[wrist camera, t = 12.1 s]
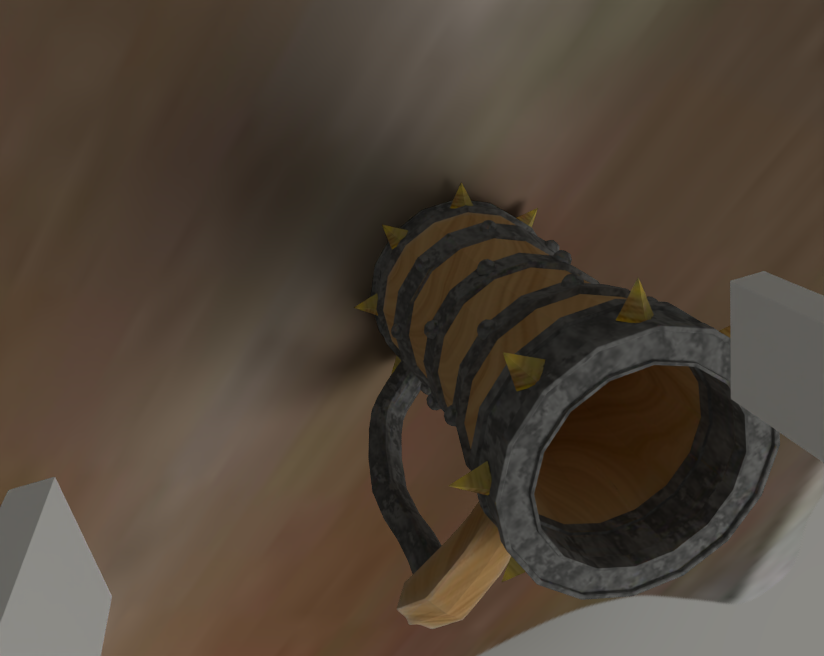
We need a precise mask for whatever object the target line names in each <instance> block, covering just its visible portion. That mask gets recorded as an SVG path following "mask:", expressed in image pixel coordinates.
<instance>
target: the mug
mask: <svg viewBox="0 0 824 656" xmlns="http://www.w3.org/2000/svg"><path fill="white" fill-rule="evenodd" d="M537 209H538V208H537ZM537 209H534V210H532V211H530V212H528V213H526V214H524V215H521V216H519V217H517V218H515V217H513V216H512V215H510V214H508V213H507V212H505V211H503V210H502V209H500V208H498V207H496V206H494V205H493V204H491V203H486V202H477V201H471V200H470V198H469V196H468V194H467V192H466V190H465V188H464V186H463V184H462V182H461V184H460V186H459V188H458V191H457V193H456V195H455V197H454V200H452V201H449V202H446V203H443V204H439V205H436V206H433V207H430V208H427V209H423V210H421V211H420V212H419V213H417V214H416V215H415V216H414V217H412V218H411V219H410V220H409V221H408V222H406V223H405V224H404V225H403V226H401V227H400V228H395V227H391V226H386V225H382V226H383V229H384V231H385V234H386V236H387V239H388V243H387V245H386V246H385V248H384V250H383V252H382V253H381V255H380V257H379V259H378V260H377V262H376V264H375V268H374V276H373V283H372V290H371V297H370V298H368V299H367V300H365V301H364V302H362V303H360V304H359V305H357V306H356V307H354V308H356V309H359V310H362V311H365V312H368V313H371V314H374V315H375V318H376V321H377V325H378V328H379V331H380V333H381V334H382V335H383V337H384V338H385V341H386V343H387V345H388V346H389V347H390V348H391V349H392V350H393V352H394V353H395V354H396V355H397V356H396V360H395V363H394V367H393V370H392V374H391V376H390V378H389V379H388V381H387V382H386V384H385V386H384V387H383V389H382V391H381V392H380V394H379V396H378V397H377V400H376V402H375V404H374V407H373V409H372V413H371V420H370V427H369V466H370V475H371V483H372V491H373V494H374V496H375V499H376V501H377V503H378V506H379V508H380V511H381V513H382V515H383V518H384V520H385V521H386V523H387V524H388V526H389V527H390V529H391V530H392V532H393V533H394V535H395V536H396V538H397V540H398V541H399V543H400V545H401V548H402V550H403V552H404V554H405V556H406V558H407V560H408V562H409V565H410V568H411V571H412V573H413V575H412V576H411V577H410V578H409V579H408V580H407V581H406V582H405V583H404V586H403V589H402V593H401V596H400V599H399V603H398V606H397V610H398V611H399V612H400V613H401V614H403V615H404V616H405V617H406V618H407V620H408V623H409V625H413V624H419V625H422V626H425V627H428V628H431V629H434V628H437V627H441V626H444V625H447V624H450V623H453V622H457V621H460V620H462V619H464V618H465V617H466V616H467V615H468V614H469V612H470V611H471V610H472V609H473V607H474V606H475V605H476V604H477V603H478V601H479V600H480V599H481V598H482V596H483V595H484V594H485V593H486V592H487V590H488V589H489V588H490V587H491V586H492V584H493V583H494V582H495V581H496V579H497V578H498V577H499V576H500V574H501V573H502V571H503V570H504V568H505V567H506V565H507V564H508V566H507V568H506V571H505V574H504V576H503V579H502V582H503V581H506V580H508V579H510V578H513V577H515V576H517V575H520V574H522V573H524V572H526V573H527V574H528V575H529V576H530V577H531V578H532V579H533V580H534V581H535V582H536V583H537V585H540V586H543V587H546V588H549V589H552V590H555V591H558V592H561V593H564V594H567V595H570V596H573V597H576V598H579V599H597V598H612V597H626V596H634V595H637V594H639V593H641V592H644V591H646V590H649V589H651V588H654V587H656V586H658V585H661V584H663V583H666V582H668V581H671V580H673V579H676V578H678V577H680V576H683V575H684V574H686V573H687V572H688V571H689V570H691V569H692V568H693V567H695V566H696V565H697V564H698V563H700V562H701V561H702V560H704V559H705V558H706V557H707V556H709V555H710V554H711V553H713V552H714V551H715V550H717V549H718V548H719V547H720V546H722V545H723V544H724V543H726V542H727V541H728V540H729V538H730V537H731V536H732V534H733V533H734V532H735V530H736V529H737V528H738V526H739V525H740V524H741V522H742V521H743V520H744V518H745V517H746V516H747V514H748V513H749V512H750V510H751V509H752V508H753V506H754V505H755V504H756V502H757V501H758V500H759V498H760V497H761V495H762V493H763V490H764V487H765V484H766V481H767V479H768V476H769V473H770V470H771V468H772V465H773V462H774V459H775V457H776V454H777V451H778V448H779V446H780V438H779V432H778V431H777V430H775V429H774V428H773V427H771V426H770V425H768V424H767V423H765V422H764V421H762V420H761V419H759V418H758V417H757V416H755V415H754V414H752V413H751V412H749V411H748V410H746V409H745V408H743V407H742V406H741V405H739V404H738V403H736V402H735V401H733V400H732V399H731V325H730V326H728V327H726V328H724V329H722V330H720V331H718V330H716V329H714V328H713V327H711V326H709V325H707V324H705V323H702V322H700V321H699V320H697V319H695V318H694V317H692V316H690V315H689V314H687V313H685V312H684V311H682V310H680V309H679V308H677V307H675V306H673V305H672V304H670V303H668V302H658V301H657V300H656V299H655V298H653V297H649V296H648V297H646V295H645V292H644V290H643V288H642V285H641V283H640V280H639V278H637V280H636V282H635V284H634V286H633V288H632V290H631V291H629V290H627V289H625V288H620V287H615V286H610V285H604V284H600V283H599V282H598V281H597V280H595V279H594V278H592V277H591V276H589V275H587V274H586V273H584V272H582V271H581V270H579V269H577V268H575V267H574V266H572V265H570V264H571V260H572V259H571V255H570V254H569V253H568V252H566V251H563V250H559V245H558V244H557V243H556V242H555V241H554V240H549V241H544V240H542V239H541V238H539V237H537V235H536V233H535V232H534V230H533V229H532V225H533V222H534V219H535V215H536V212H537ZM420 390H421V391H422V392H423V393H425V394H427V395H428V397H427V404H428V406H429V407H430V408H431V409H432V410H439V409H442V410H443V411H444V417H445V421H446V422H447V424H449V425H451V426H456V427H457V431H458V435H459V439H460V443H461V447H462V451H463V455H464V459H465V463H466V465H467V467H468V468H469V469H470V470H471V472H469V473H468V474H466V475H465V476H463V477H461V478H460V479H458V480H457V481H455V482H454V483H452V484H450V485H449V486H451V487H455V488H459V489H463V490H467V491H471V492H475V493H477V495H478V499H479V502H478V504H477V505H476V506H475V508H474V509H473V511H472V512H471V514H470V515H469V516H468V517H467V519H466V520H465V521H464V522H463V523H462V524H461V526H460V527H459V528H458V529H457V530H456V531H455V532H454V533H453V534H452V536H451V537H450V538H449V539H448V540H447V541H446V542H445V543H444V544H443V545H442V546H441V544H440V542H439V540H438V539H437V537H436V535H435V534H434V532H433V531H432V530H431V528H430V527H429V526H428V524H427V523H426V522H425V520H424V519H423V518H422V516H421V515H420V514H419V512H418V510H417V508H416V506H415V504H414V502H413V500H412V498H411V496H410V494H409V492H408V491H407V488H406V482H405V476H404V470H403V464H402V448H401V434H402V425H403V420H404V417H405V415H406V413H407V411H408V409H409V407H410V406H411V404H412V403H413V401H414V399H415V398H416V396H417V395H418V393H419V391H420ZM508 562H509V563H508Z"/></svg>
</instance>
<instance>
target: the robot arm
mask: <svg viewBox="0 0 824 656" xmlns="http://www.w3.org/2000/svg"><path fill="white" fill-rule="evenodd" d="M730 307H731V399H732V400H733V401H735V402H736V403H738V404H739V405H741V406H742V407H743V408H745V409H746V410H748V411H749V412H751V413H752V414H754V415H755V416H757V417H758V418H759V419H761V420H762V421H764V422H765V423H767V424H768V425H770V426H771V427H773V428H774V429H775V430H777V431H778V432H780V433H781V434H783V435H784V436H786V437H787V438H789V439H790V440H791V441H793V442H794V443H796V444H797V445H799V446H800V447H802V448H803V449H804V450H806V451H807V452H809V453H810V454H812V455H813V456H815V457H816V458H818V459H819V460H820V461H822V462H823V463H824V296H823V295H820V294H818V293H815V292H813V291H811V290H808V289H806V288H803V287H801V286H799V285H796V284H794V283H791V282H789V281H786V280H784V279H782V278H779V277H777V276H774V275H772V274H769V273H767V272H765V271H763V272H759V273H756V274H753V275H749V276H746V277H742V278H739V279H735V280H732V281H730ZM111 599H112V595H111V593H110V591H109V589H108V587H107V585H106V583H105V581H104V579H103V576H102V574H101V572H100V570H99V568H98V566H97V564H96V562H95V560H94V558H93V556H92V553H91V551H90V549H89V547H88V545H87V543H86V541H85V539H84V537H83V535H82V533H81V530H80V528H79V526H78V524H77V522H76V520H75V518H74V516H73V514H72V512H71V509H70V507H69V505H68V503H67V501H66V499H65V497H64V495H63V493H62V491H61V489H60V486H59V484H58V482H57V480H56V478H55V477H52V478H49V479H45V480H42V481H39V482H35V483H32V484H28V485H25V486H21V487H18V488H14V489H11V490H8V492H7V494H6V497H5V499H4V501H3V503H2V505H1V507H0V656H101V651H102V646H103V641H104V636H105V630H106V625H107V620H108V614H109V609H110V604H111Z"/></svg>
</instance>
